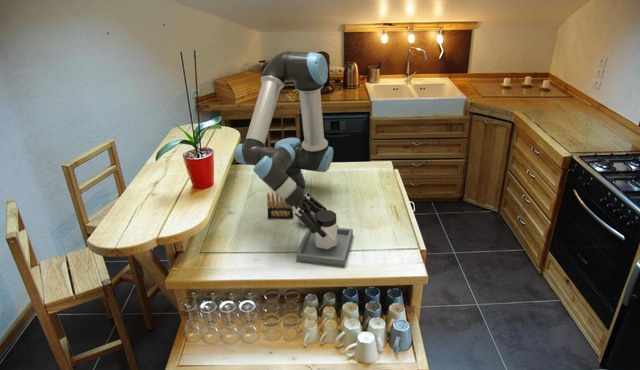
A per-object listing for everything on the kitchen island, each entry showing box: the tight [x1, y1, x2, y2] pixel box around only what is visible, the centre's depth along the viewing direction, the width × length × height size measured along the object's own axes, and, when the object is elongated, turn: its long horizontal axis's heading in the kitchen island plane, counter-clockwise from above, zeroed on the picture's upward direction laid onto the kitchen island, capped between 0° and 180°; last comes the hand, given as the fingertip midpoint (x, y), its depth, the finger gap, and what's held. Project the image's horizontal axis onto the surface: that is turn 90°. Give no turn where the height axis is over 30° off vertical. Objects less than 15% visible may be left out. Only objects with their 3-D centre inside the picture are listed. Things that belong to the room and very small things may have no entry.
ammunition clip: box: [266, 191, 295, 220], centre depth 190 cm, size 11×2×12 cm, turn 87°
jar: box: [314, 209, 338, 249], centre depth 168 cm, size 9×8×12 cm
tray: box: [295, 227, 354, 268], centre depth 172 cm, size 20×17×3 cm
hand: (334, 234), depth 169 cm, fingers closed on jar, 8 cm apart
